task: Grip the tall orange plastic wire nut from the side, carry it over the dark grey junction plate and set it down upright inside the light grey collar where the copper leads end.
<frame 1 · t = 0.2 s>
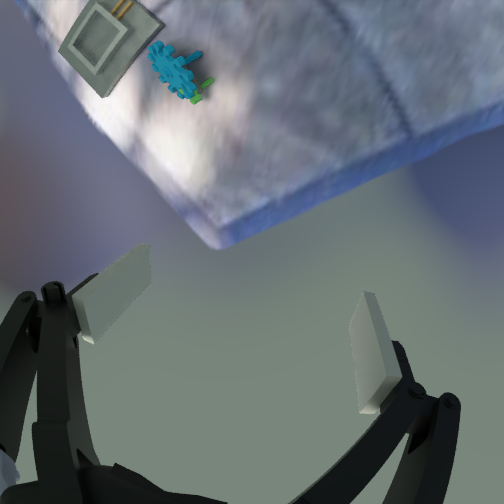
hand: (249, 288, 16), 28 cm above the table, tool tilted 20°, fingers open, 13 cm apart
junction box: (106, 36, 28), on the table
gear: (185, 70, 32), on the table
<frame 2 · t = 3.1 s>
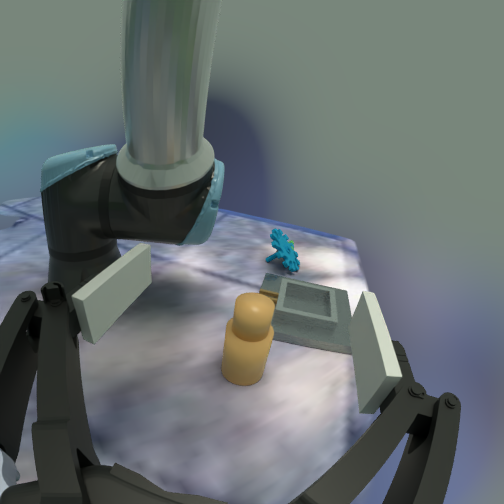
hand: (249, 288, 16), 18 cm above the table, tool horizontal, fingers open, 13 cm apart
junction box: (303, 313, 44), on the table
gear: (282, 265, 60), on the table
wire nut: (242, 369, 32), on the table
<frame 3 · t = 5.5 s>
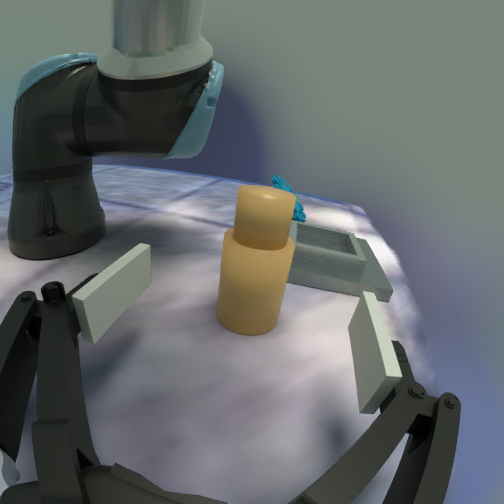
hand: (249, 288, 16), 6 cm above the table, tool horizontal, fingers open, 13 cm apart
junction box: (319, 258, 36), on the table
gear: (285, 218, 51), on the table
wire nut: (247, 314, 23), on the table
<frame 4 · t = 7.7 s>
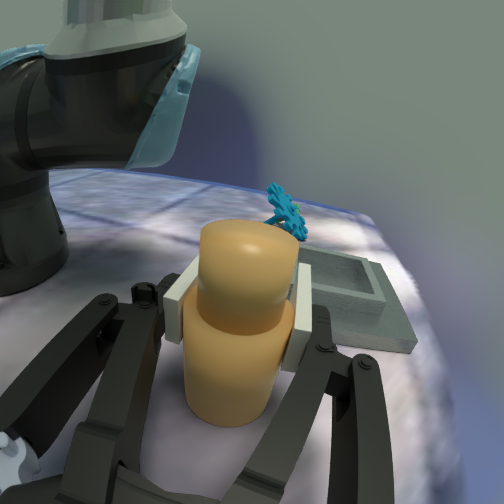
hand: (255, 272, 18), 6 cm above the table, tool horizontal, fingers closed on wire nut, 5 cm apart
junction box: (326, 293, 28), on the table
gear: (283, 234, 44), on the table
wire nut: (226, 392, 15), on the table, touching gripper
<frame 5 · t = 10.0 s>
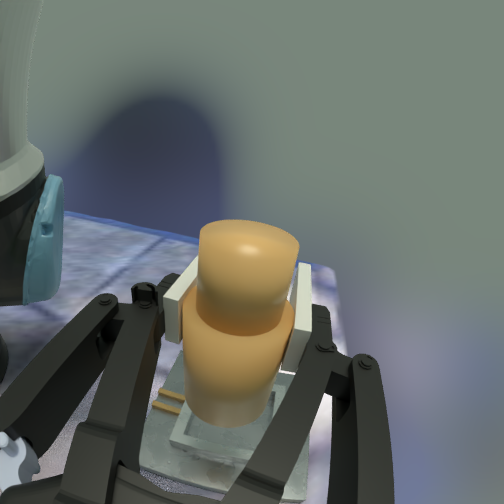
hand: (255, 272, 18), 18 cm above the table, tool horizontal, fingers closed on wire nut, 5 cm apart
junction box: (230, 426, 24), on the table
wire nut: (226, 393, 15), point 12 cm above the table, touching gripper
when the fingers open (9 cm above the table, at t = 12.3 s): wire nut drops 1 cm, resting on junction box.
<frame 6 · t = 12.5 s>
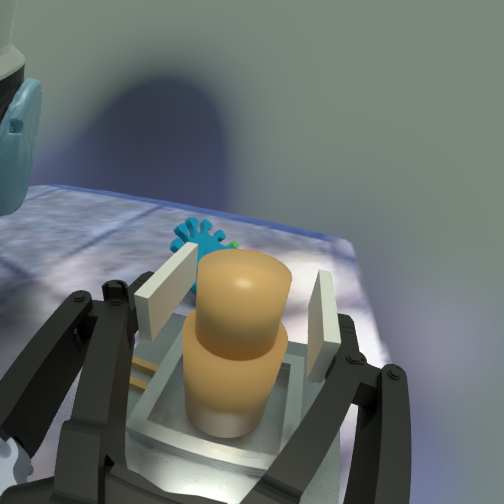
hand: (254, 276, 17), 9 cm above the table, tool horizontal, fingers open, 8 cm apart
junction box: (223, 415, 17), on the table
gear: (208, 286, 32), on the table
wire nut: (224, 405, 16), point 1 cm above the table, touching junction box
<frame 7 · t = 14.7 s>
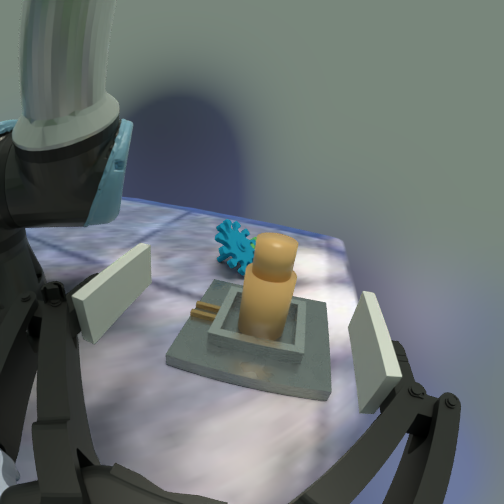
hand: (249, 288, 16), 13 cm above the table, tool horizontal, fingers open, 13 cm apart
junction box: (258, 335, 31), on the table
gear: (237, 267, 47), on the table
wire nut: (260, 326, 30), point 1 cm above the table, touching junction box
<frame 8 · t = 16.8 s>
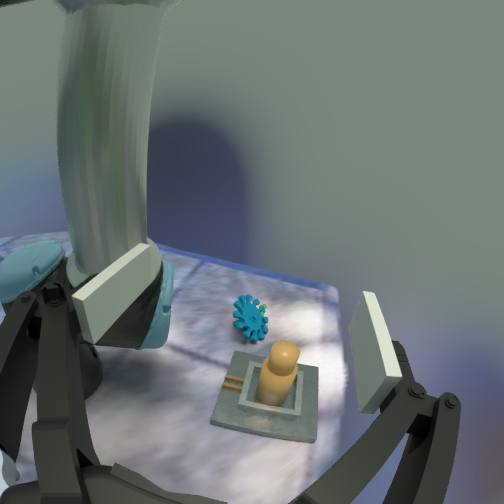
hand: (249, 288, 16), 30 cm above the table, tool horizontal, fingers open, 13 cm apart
junction box: (269, 397, 41), on the table
gear: (249, 330, 57), on the table
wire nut: (271, 392, 40), point 1 cm above the table, touching junction box
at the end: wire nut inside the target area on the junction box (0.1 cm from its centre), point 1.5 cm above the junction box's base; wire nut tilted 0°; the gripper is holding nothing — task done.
